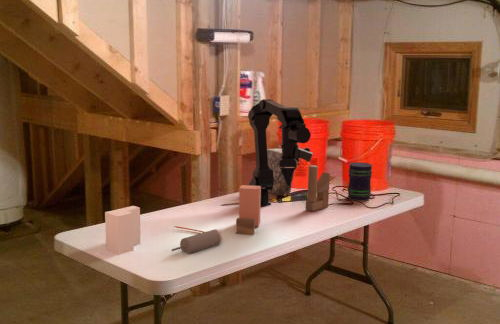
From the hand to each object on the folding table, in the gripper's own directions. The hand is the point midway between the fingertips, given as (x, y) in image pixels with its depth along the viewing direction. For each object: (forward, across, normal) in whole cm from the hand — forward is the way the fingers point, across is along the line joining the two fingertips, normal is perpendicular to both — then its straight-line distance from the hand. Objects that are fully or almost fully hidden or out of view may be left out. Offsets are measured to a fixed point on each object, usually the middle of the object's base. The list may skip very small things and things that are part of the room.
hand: (289, 183), depth 200 cm
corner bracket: (+14, -39, +50) cm, 65 cm away
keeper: (+14, -9, +14) cm, 21 cm away
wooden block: (+13, +19, -10) cm, 25 cm away
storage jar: (+13, +41, -27) cm, 51 cm away
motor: (+15, -31, +33) cm, 48 cm away
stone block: (+11, +41, +8) cm, 43 cm away
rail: (+14, -10, +14) cm, 22 cm away
